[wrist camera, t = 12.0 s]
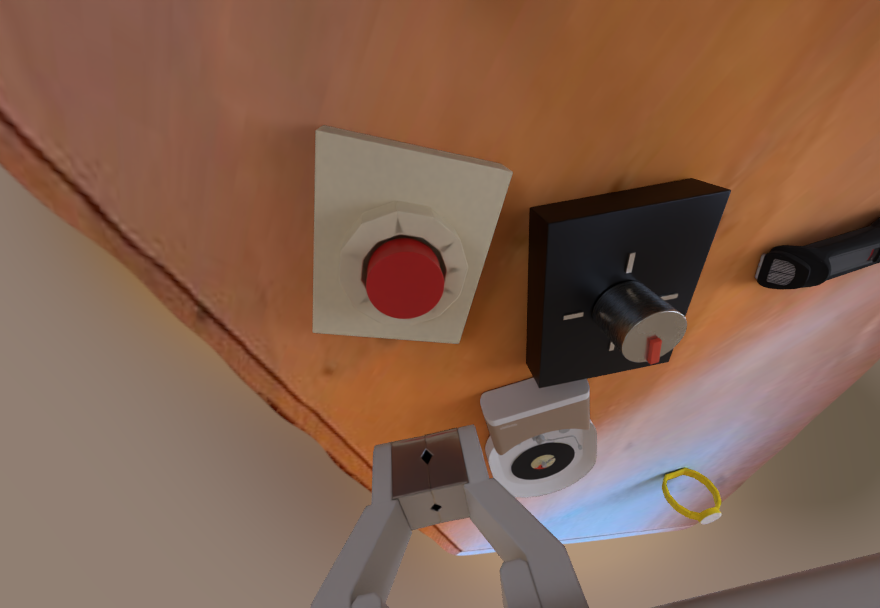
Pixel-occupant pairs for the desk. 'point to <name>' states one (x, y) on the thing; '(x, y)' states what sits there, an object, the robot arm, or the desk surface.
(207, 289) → the desk surface
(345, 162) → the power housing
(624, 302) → the dial
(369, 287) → the power button
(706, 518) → the watch
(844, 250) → the electric trimmer
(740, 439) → the desk surface
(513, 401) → the record player
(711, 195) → the control panel
